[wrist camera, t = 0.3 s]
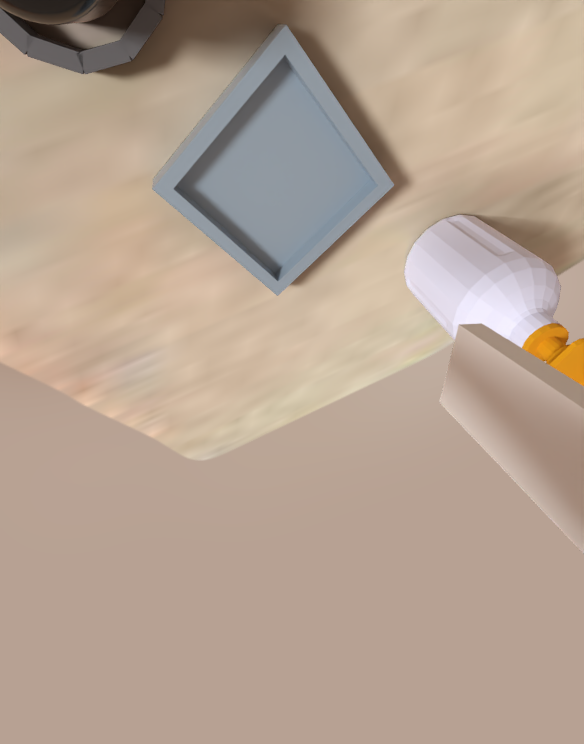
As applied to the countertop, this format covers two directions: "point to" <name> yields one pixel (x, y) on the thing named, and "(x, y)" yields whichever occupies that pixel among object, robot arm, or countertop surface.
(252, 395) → the countertop surface
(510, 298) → the soap bottle
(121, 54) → the holster ring
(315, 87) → the tray
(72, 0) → the supplement bottle
